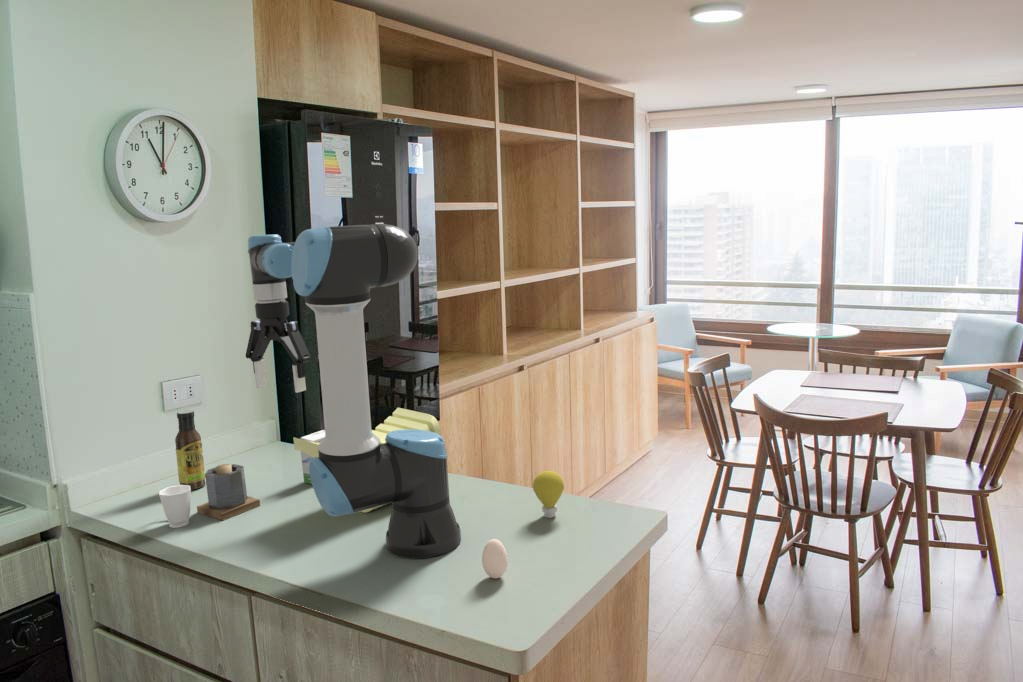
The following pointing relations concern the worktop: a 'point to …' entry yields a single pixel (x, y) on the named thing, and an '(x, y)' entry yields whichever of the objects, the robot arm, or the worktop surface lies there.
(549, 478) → the light bulb
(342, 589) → the worktop surface
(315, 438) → the ink box
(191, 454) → the sauce bottle
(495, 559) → the egg
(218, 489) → the grey hollow octagonal piece
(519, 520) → the worktop surface
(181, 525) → the cup
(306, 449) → the slatted curved stool
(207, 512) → the post
